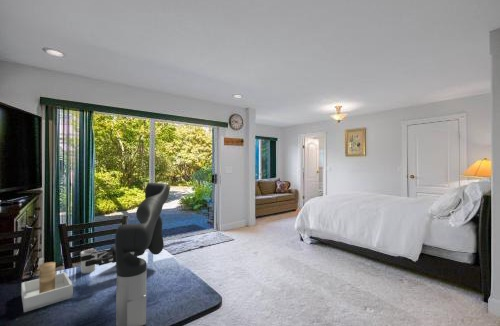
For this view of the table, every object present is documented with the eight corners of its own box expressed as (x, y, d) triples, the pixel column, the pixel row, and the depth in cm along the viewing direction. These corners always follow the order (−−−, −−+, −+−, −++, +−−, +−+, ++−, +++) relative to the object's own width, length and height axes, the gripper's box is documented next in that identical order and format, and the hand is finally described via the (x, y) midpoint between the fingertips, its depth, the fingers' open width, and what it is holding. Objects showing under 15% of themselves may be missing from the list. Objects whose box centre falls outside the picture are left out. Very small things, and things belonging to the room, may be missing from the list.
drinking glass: (99, 268, 127) (99, 249, 127) (89, 274, 121) (89, 253, 121) (87, 268, 128) (87, 248, 128) (77, 273, 121) (77, 253, 121)
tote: (72, 297, 99) (73, 284, 99) (23, 312, 88) (24, 298, 88) (65, 283, 111) (65, 272, 111) (21, 295, 100) (21, 282, 101)
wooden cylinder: (55, 293, 100) (56, 264, 100) (39, 298, 96) (40, 267, 96) (54, 289, 103) (54, 260, 103) (38, 293, 100) (39, 264, 100)
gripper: (117, 242, 125) (79, 249, 113) (127, 248, 115) (87, 256, 103) (117, 256, 125) (79, 265, 113) (127, 264, 115) (86, 274, 103)
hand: (83, 261), depth 108 cm, fingers open, 8 cm apart
